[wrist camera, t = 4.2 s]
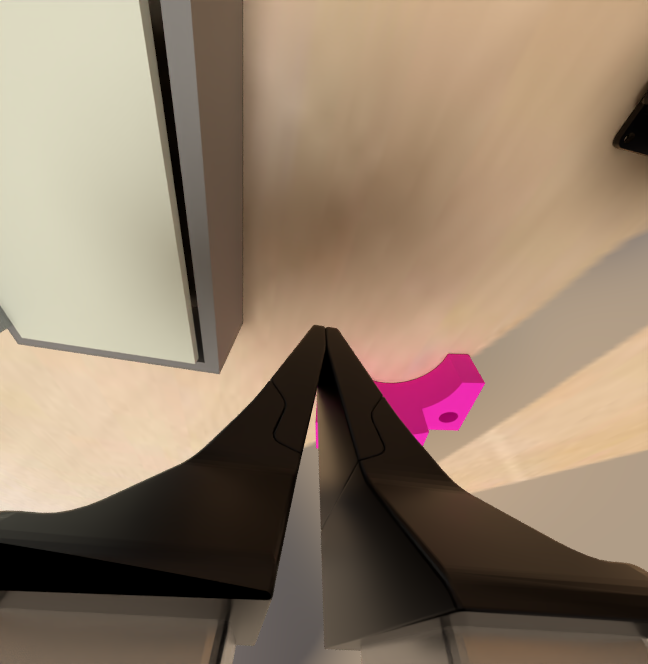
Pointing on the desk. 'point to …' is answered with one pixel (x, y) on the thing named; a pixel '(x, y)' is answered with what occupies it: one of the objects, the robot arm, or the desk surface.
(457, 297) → the desk surface
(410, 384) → the magenta saddle bracket
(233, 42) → the hatch box
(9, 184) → the trapdoor
